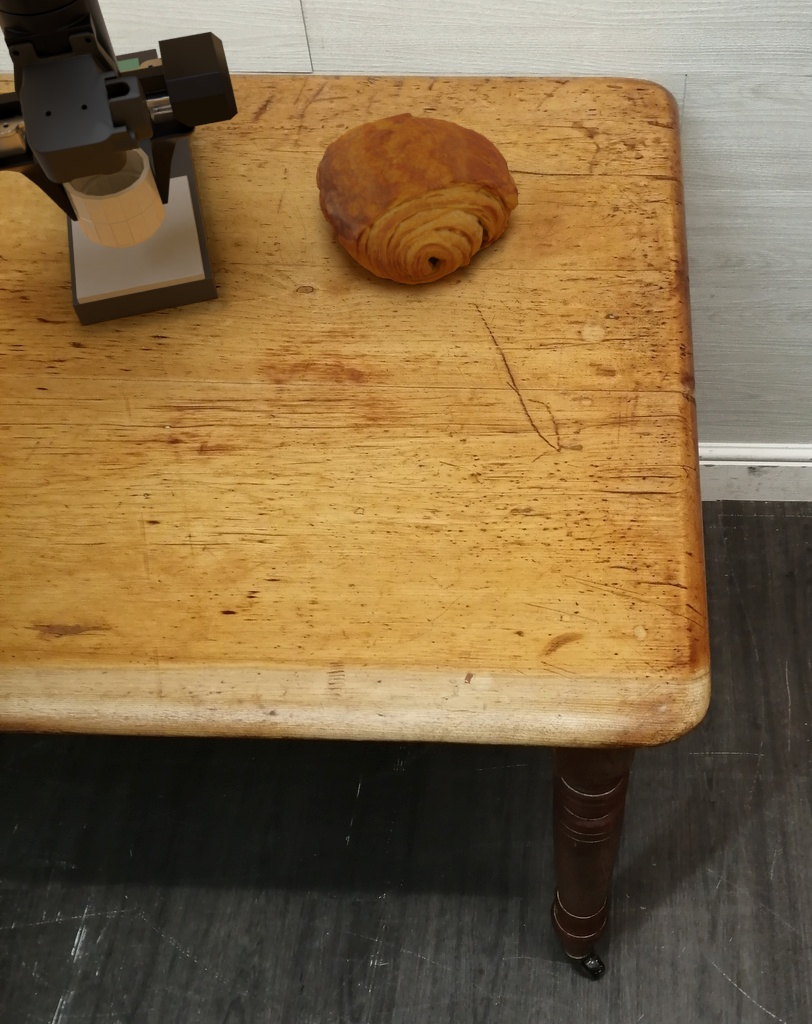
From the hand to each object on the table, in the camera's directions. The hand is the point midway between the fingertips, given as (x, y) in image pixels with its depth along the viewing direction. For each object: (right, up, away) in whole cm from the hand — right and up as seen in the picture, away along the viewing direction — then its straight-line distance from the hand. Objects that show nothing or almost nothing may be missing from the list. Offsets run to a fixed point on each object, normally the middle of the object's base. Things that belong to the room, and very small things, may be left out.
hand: (120, 208), depth 68 cm
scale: (-2, +4, +10) cm, 11 cm away
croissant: (+21, +1, +7) cm, 22 cm away
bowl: (0, -1, +1) cm, 1 cm away
